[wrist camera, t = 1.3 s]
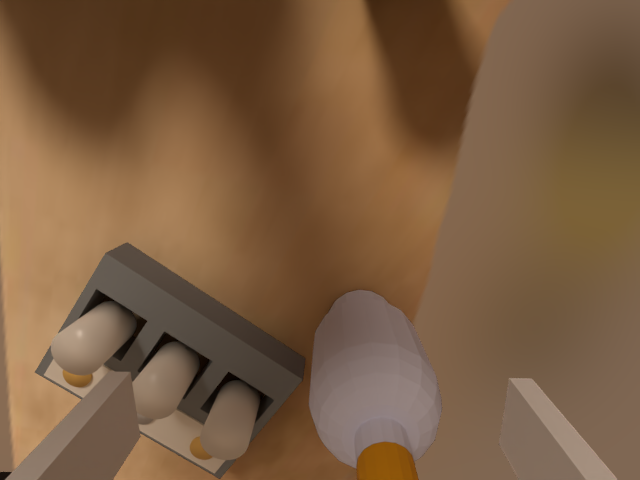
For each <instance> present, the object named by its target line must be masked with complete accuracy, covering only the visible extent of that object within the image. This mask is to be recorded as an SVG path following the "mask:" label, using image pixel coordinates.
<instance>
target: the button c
mask: <svg viewBox="0 0 640 480" xmlns="http://www.w3.org/2000/svg"><path fill="white" fill-rule="evenodd" d="M259 404H260V395H259V392H258V391H257V389H256V388H254V387H253V386H251V385H249V384H248V383H246V382H245V381H242V380H233V381H229V382H227V383H226V384H224V385H223V386H222V387H221V389H220V390H219V393H218V395H217V397H216V399H215V402H214V404H213V406H212V408H211V411H210V413H209V415H208V417H207V420H206V422H205V424H204V426H203V429H202V431H201V434H200V443H201V445H202V447H203V449H204V450H205V451H206V452H207V453H208V454H209V455H211V456H212V457H214V458H217V459H220V460H233V459H236V458H238V457H240V456H242V455H243V454H244V453H245V452H246V450H247V448H248V445H249V442H250V438H251V434H252V430H253V427H254V423H255V419H256V416H257V412H258V408H259Z"/></svg>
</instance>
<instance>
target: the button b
mask: <svg viewBox="0 0 640 480" xmlns="http://www.w3.org/2000/svg"><path fill="white" fill-rule="evenodd" d="M199 367H200V359H199V356H198V354H197V352H196V351H195V350H193V349H192V348H190V347H189V346H187V345H185V344H184V343H182V342H169V343H167V344H165V345H163V346H162V347H161V348H160V349H159V351H158V352H157V353H156V354H155V356H154V357H153V358H152V359H151V360H150V362H149V363H148V364H147V365H146V367H145V368H144V369H143V370H142V371H141V373H140V374H139V375H138V376H137V378H136V379H135V380H134V381H133V382H132V385H133V392H134V398H135V405H136V411H137V413H139V414H140V415H142V416H144V417H147V418H151V419H162V418H166V417H168V416H170V415H171V414H172V413H173V412H174V411H175V410H176V408H177V406H178V405H179V403H180V401H181V399H182V398H183V396H184V394H185V393H186V391H187V389H188V387H189V386H190V384H191V382H192V380H193V379H194V377H195V375H196V373H197V372H198V370H199Z"/></svg>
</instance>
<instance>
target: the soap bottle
mask: <svg viewBox="0 0 640 480" xmlns="http://www.w3.org/2000/svg"><path fill="white" fill-rule="evenodd" d="M309 408H310V411H311V415H312V418H313V421H314V424H315V427H316V430H317V432H318V435H319V437H320V439H321V441H322V442H323V444H324V445H325V447H326V448H327V449H328V450H329V451H330V452H331V453H332V454H333V455H334V456H335V457H336V458H337V459H338V460H339V461H341V462H343V463H345V464H347V465H349V466H351V467H353V468H355V469H357V480H418V476H417V472H416V468H415V463H414V461H416V460H418V459H419V458H421V457H422V456H423V455H424V454H425V452H426V451H427V450H428V448H429V447H430V446H431V445H432V443H433V442H434V441H435V437H436V433H437V429H438V424H439V420H440V416H441V412H442V403H441V394H440V390H439V386H438V382H437V378H436V375H435V373H434V370H433V368H432V366H431V363H430V361H429V359H428V357H427V355H426V353H425V350H424V348H423V346H422V344H421V341H420V339H419V337H418V335H417V332H416V330H415V328H414V326H413V324H412V323H411V322H410V321H409V319H408V318H407V317H406V316H405V314H404V313H403V312H402V311H401V310H400V309H398V308H396V307H394V306H392V305H390V304H389V303H388V302H387V301H386V300H385V299H384V298H383V297H382V296H380V295H378V294H376V293H374V292H372V291H366V290H355V291H351V292H348V293H345V294H344V295H342V296H341V297H340V298H338V299H337V300H336V301H335V302H334V304H333V305H332V307H331V309H330V310H329V312H328V314H326V315H325V317H324V318H323V320H322V321H321V323H320V325H319V326H318V328H317V330H316V331H315V338H314V347H313V357H312V370H311V382H310V394H309Z"/></svg>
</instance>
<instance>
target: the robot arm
mask: <svg viewBox="0 0 640 480" xmlns="http://www.w3.org/2000/svg"><path fill="white" fill-rule="evenodd" d="M139 438H140V430H139V424H138V418H137V411H136V405H135V398H134V392H133V385H132V379H131V372H113V371H109V372H108V373H107V374H106V375H105V376H104V377H103V378H102V379H101V380H100V381H99V382H98V383H97V384H96V385H95V386H94V388H93V389H92V390H91V391H90V392H89V393H88V394H87V395H86V396H85V397H84V398H83V399H82V400H81V401H80V402H79V403H78V404H77V405H76V406H75V407H74V408H73V409H72V410H71V411H70V413H69V414H68V415H67V416H66V417H65V418H64V419H63V420H62V421H61V422H60V423H59V424H58V425H57V426H56V427H55V428H54V429H53V430H52V431H51V432H50V433H49V434H48V435H47V436H46V438H45V439H44V440H43V441H42V442H41V443H40V444H39V445H38V446H37V447H36V448H35V449H34V450H33V451H32V452H31V453H30V454H29V455H28V456H27V457H26V458H25V459H24V460H23V462H22V463H21V464H20V465H19V466H18V467H17V468H16V469H15V470H14V471H13V472H0V480H113V479H114V477H115V475H116V474H117V472H118V471H119V469H120V468H121V466H122V465H123V463H124V461H125V460H126V458H127V457H128V455H129V454H130V452H131V451H132V449H133V447H134V446H135V444H136V443H137V441H138V440H139ZM499 445H500V447H501V449H502V451H503V453H504V455H505V456H506V458H507V460H508V462H509V463H510V465H511V467H512V469H513V471H514V472H515V474H516V476H517V478H518V480H618V479H617V478H616V477H615V476H614V475H613V474H612V472H611V471H610V470H609V469H608V468H607V466H606V465H605V464H604V463H603V462H602V461H601V459H600V458H599V457H598V456H597V455H596V454H595V452H594V451H593V450H592V449H591V448H590V446H589V445H588V444H587V443H586V442H585V441H584V439H583V438H582V437H581V436H580V435H579V433H578V432H577V431H576V430H575V429H574V428H573V426H572V425H571V424H570V423H569V422H568V421H567V419H566V418H565V417H564V416H563V415H562V413H561V412H560V411H559V410H558V409H557V408H556V406H555V405H554V404H553V403H552V402H551V401H550V399H549V398H548V397H547V396H546V395H545V393H544V392H543V391H542V390H541V389H540V388H539V386H538V385H537V384H536V383H535V382H534V381H533V379H528V378H527V379H525V378H509V383H508V389H507V395H506V402H505V408H504V414H503V420H502V427H501V433H500V440H499Z"/></svg>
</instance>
